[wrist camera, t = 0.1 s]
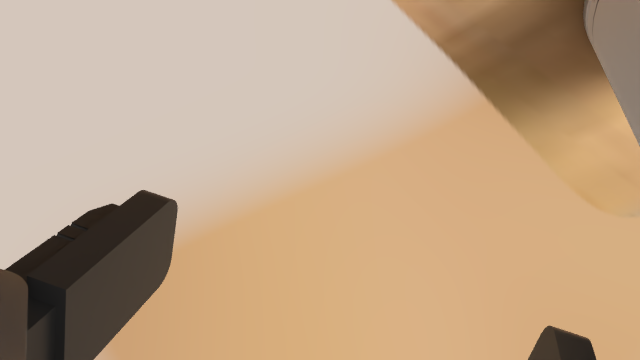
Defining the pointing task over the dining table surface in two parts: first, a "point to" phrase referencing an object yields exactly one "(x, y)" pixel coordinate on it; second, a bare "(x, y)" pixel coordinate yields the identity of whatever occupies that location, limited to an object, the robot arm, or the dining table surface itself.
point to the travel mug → (618, 50)
